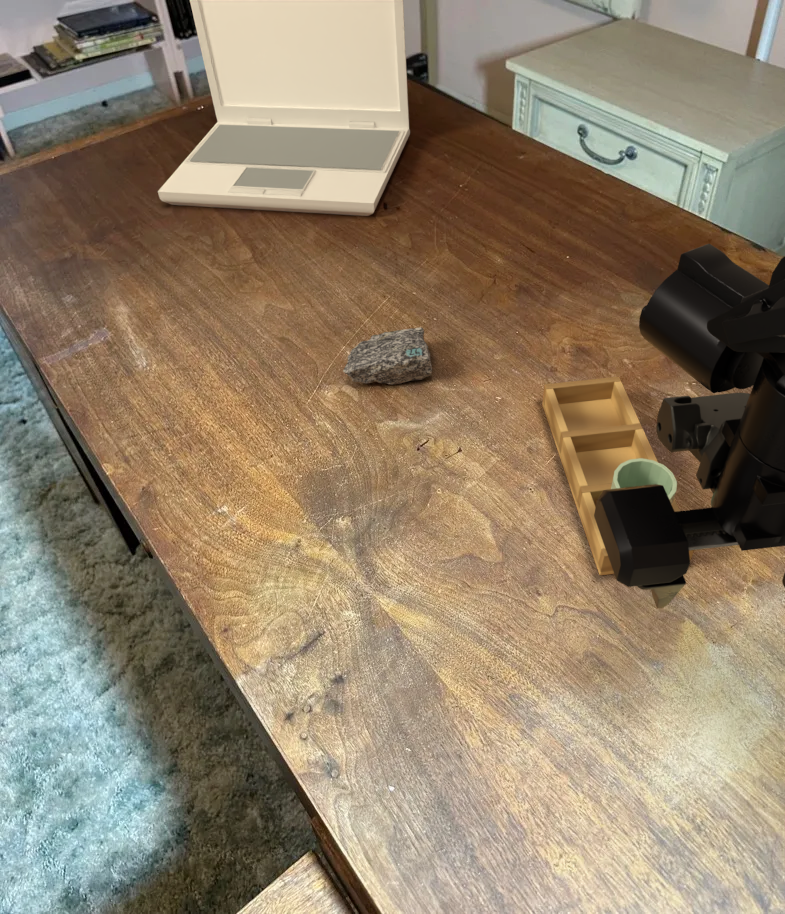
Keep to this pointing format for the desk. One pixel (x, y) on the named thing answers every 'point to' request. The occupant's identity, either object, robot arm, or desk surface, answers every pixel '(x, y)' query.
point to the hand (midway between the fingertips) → (722, 595)
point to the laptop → (298, 106)
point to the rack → (594, 445)
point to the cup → (644, 476)
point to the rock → (390, 358)
